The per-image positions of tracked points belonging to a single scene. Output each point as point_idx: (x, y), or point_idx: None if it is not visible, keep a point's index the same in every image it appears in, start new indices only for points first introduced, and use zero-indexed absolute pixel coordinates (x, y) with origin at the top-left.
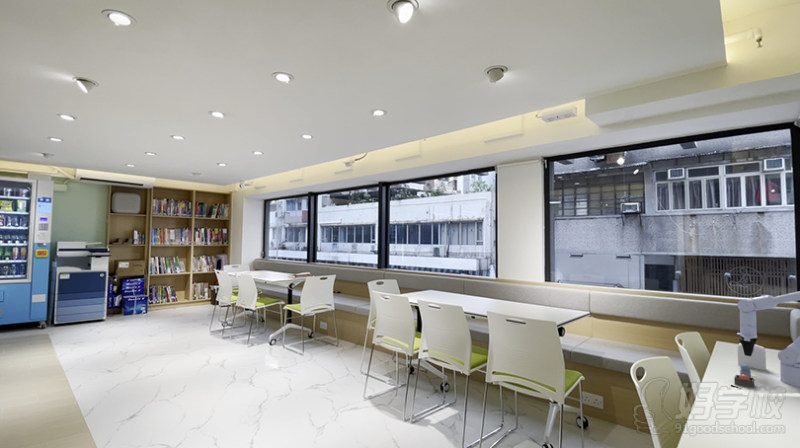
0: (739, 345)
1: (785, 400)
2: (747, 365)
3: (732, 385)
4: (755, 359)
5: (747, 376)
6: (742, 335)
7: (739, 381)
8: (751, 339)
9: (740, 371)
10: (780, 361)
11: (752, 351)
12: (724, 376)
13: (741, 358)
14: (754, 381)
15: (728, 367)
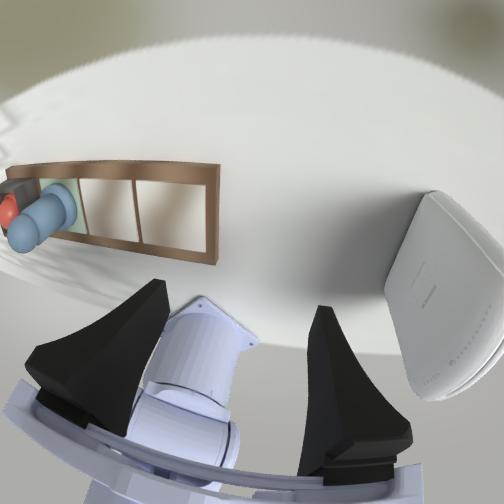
0: (500, 288)
1: (35, 275)
2: (15, 250)
3: (8, 172)
4: (411, 303)
5: (4, 227)
6: (47, 444)
7: (1, 197)
8: (308, 462)
9: (25, 208)
10: (184, 392)
11: (308, 350)
12: (100, 118)
13: (441, 232)
14: (84, 232)
15: (370, 128)
